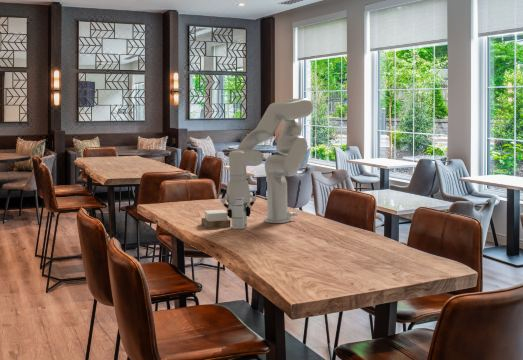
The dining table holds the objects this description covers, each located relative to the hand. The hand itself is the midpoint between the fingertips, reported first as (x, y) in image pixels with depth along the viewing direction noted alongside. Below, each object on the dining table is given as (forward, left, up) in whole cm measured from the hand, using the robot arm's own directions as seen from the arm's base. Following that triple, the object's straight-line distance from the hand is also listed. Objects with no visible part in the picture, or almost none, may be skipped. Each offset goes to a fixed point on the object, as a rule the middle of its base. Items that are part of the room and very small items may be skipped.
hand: (239, 216), depth 284 cm
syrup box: (0, 0, -5) cm, 5 cm away
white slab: (+8, -10, -2) cm, 13 cm away
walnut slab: (+8, -10, -6) cm, 14 cm away
